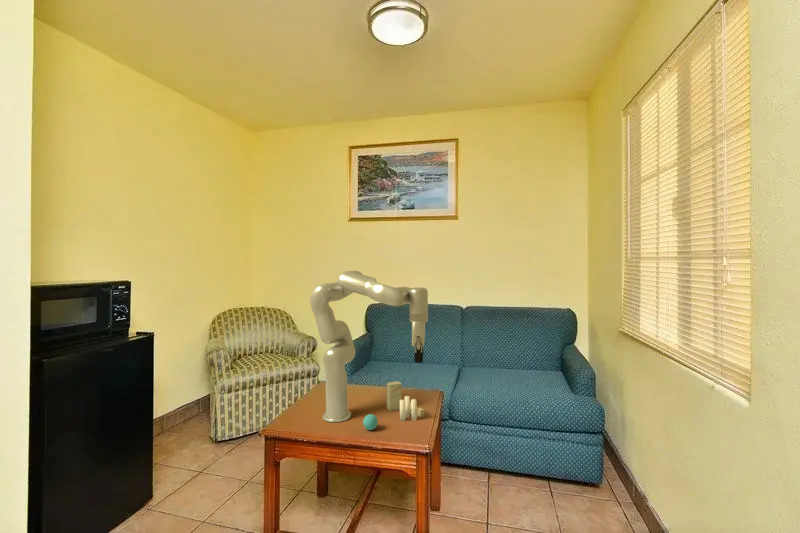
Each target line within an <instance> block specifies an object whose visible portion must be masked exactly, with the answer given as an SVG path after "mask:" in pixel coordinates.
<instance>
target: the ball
mask: <svg viewBox="0 0 800 533" xmlns="http://www.w3.org/2000/svg"><path fill="white" fill-rule="evenodd" d="M362 424H363V427H364V428H365V429H366V430H368V431H372V430H374V429H376V428H377V426H378V424H379V422H378V418H377V416H376V415H374V414H371V413H370V414H367V415H365V416H364V418H363V423H362Z"/></svg>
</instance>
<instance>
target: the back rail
mask: <svg viewBox="0 0 800 533" xmlns="http://www.w3.org/2000/svg"><path fill="white" fill-rule="evenodd" d="M410 412H411V402H410ZM417 417H420V418H425V417H426V414H425V409H423V408H422V407H419V406H418V405H417Z"/></svg>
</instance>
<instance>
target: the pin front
mask: <svg viewBox="0 0 800 533" xmlns="http://www.w3.org/2000/svg"><path fill="white" fill-rule="evenodd" d="M406 418H407V417H406V416H405V398H403V399H402V400H400V410H399V421H400V422H405V421H406Z"/></svg>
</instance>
